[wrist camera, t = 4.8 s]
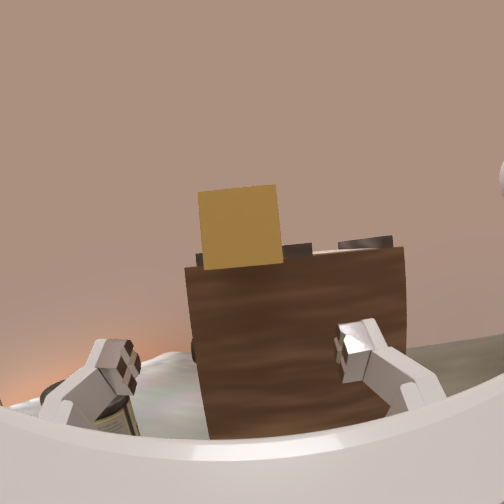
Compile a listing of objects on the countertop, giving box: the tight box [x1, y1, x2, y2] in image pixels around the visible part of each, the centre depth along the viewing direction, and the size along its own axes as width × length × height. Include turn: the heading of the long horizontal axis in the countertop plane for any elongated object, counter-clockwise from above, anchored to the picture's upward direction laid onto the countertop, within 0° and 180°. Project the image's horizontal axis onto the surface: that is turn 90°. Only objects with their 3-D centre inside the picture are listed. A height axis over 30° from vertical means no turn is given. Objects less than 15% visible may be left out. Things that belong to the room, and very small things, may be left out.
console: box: [184, 236, 407, 440], centre depth 30 cm, size 14×19×27 cm
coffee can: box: [40, 380, 140, 436], centre depth 25 cm, size 10×10×14 cm
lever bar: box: [198, 185, 283, 270], centre depth 26 cm, size 22×4×4 cm, turn 179°
